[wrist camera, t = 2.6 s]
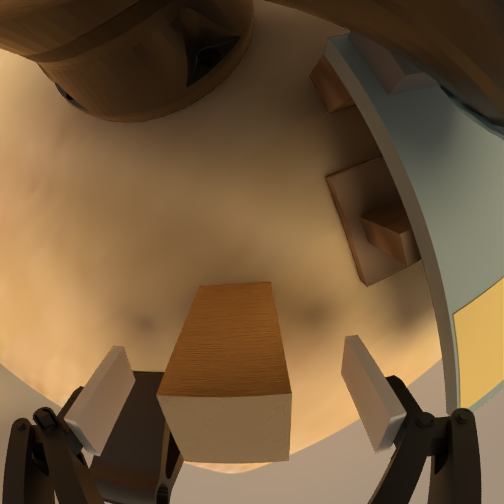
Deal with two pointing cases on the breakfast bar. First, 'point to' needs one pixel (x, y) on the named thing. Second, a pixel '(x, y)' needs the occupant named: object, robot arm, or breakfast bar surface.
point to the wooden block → (229, 379)
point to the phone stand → (138, 450)
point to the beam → (440, 206)
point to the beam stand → (367, 199)
